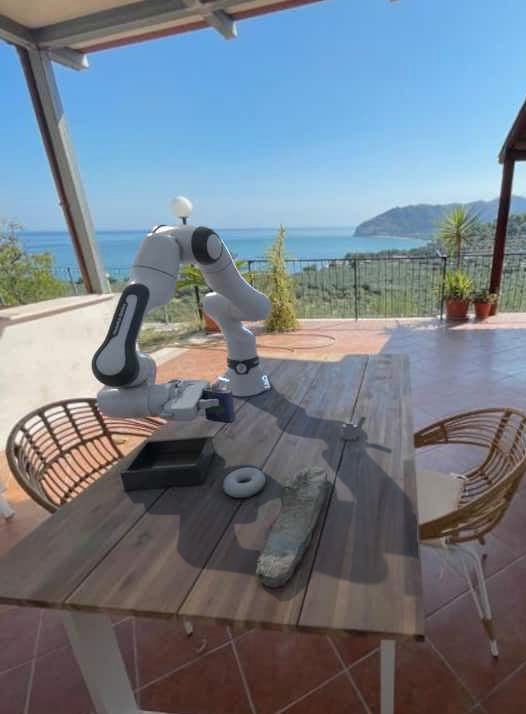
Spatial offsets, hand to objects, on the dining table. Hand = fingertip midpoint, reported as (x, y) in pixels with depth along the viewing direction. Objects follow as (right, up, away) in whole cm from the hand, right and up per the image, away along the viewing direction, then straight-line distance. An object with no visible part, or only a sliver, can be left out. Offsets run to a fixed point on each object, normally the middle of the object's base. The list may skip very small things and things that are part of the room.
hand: (221, 397), depth 105 cm
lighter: (+36, -13, +14) cm, 41 cm away
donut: (+9, -22, -9) cm, 26 cm away
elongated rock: (+24, -26, -20) cm, 41 cm away
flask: (-1, -6, +2) cm, 7 cm away
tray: (-12, -19, -2) cm, 23 cm away
